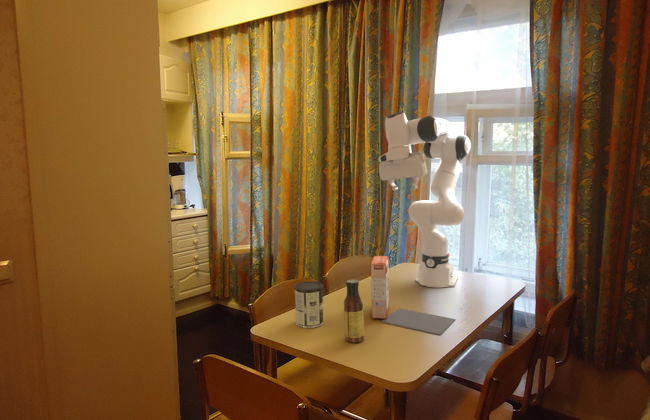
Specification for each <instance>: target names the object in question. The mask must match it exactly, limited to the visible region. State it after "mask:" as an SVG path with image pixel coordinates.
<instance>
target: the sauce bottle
mask: <svg viewBox="0 0 650 420" xmlns="http://www.w3.org/2000/svg"><path fill="white" fill-rule="evenodd" d="M359 282H360V281H359V280H357V279H348V280H346V281H345V285H346V297H345V298H344V301H343V308H344V309H343V318H344V335H345V340H346V341H347V342H349V343H354V344H357V343H361V342H363V341H364V337H365V324H364V305H363V302H362V299H361V296H360V293H359Z"/></svg>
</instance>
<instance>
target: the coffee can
mask: <svg viewBox="0 0 650 420" xmlns="http://www.w3.org/2000/svg"><path fill="white" fill-rule="evenodd" d="M323 290H324V284H323V283H322V282H319V281H318V282H317V281H302V282H299V283H298V282H297V283H296V284H295V285H294V297H295V298H294V299H295V300H294V302H295V303H294V304H295V325H296V326H297V325H298V326H297V327H299V326H300V327H299V328H302V327H303V329H314V328H315V327H316V328H319V327H321V326H323V324H324V323H325V321H324V297H323V296H324V293H323ZM316 328H315V329H316Z"/></svg>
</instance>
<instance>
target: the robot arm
mask: <svg viewBox="0 0 650 420" xmlns="http://www.w3.org/2000/svg"><path fill="white" fill-rule="evenodd" d="M384 124H385V125H384V127H385V137H386V141H387V143H388V144H387V145H388V146H387V152H386V153H384V154H382V155H380V156H378V162H379V164H378V166H379V167H378V170H379V179H380V180H381V181H388V183H389V184H390V186H391V189H392V191H395V192H396V191H398V189H399V188H398V187H399V186H398V185H396V183H395V180H399V179H400V180H401V179H407V178H409V179H410V178H413V180H414V182H413V184H411V189H412V190H416V189H419V182H420V177H425V176H427V174H428V168H427V163H426V161H425V159H426V158H428V159H433V160H434V159H438V160H439V159H440V161H439V163H438V165H437V167H436V170H435V172H434V175H433V179H432V181H431V185H430V191H431V194H432V195H433V196H434V197H436V198H437V200H427V199H426V200H424V199H423V200H417V201H412V203H411V204H410V205H409V207H408V216H409V218H410V220H411V221H412V222H413V223H414V224H415V225H416V227H417V228H418V230H419V231H420V234H421V238H422V253H421V262H420V263H419V265H418V275H417V277H416V278H414V280H415V282H417V283H418V284H419V285H421V286H425V287H428V288H446V287H447V288H448V287H455V286H456V284H457V282H458V276H457V275H454V269H453V266H452V264H450V262H449V261H450V260H449V258H450V253H449V252H448V237H447V235H446V234H444V233H442V232H441V231H440V230H439V229H438V228H437V226H445V227H446V226H448V227H450V226H457V225H461V223H462V222H463V220H464V217H465V209H464V207H463V206H462V204H461V203H459V202H458V200H457V198H456V196H455V195H456V194H455V193H456V187H457V183H458V181H459V180H458V179H459V175H460V162H462V161H463V160H464V159H465V158H466V157H467V156H468V155H469V153H470V151H471V140H470V138H469V136H468V135H465V134H452V133H453V131H452V130H453V128H452V125H451V123H450V122H449V121H448V120H446V119H443V118H439V117H434V116H433V115H427V116H424V117H420V118H416V119H412V120H408V119H407V116H406V114H405V112H403V111H400V112H399V111H398V112H395V113H394V112H393V113H391V114H388V115H387V116H386V117H385V123H384ZM417 144H423V147H422V148H423V149H422V150H423V152H421V151H417V152H412V145H417ZM425 157H426V158H425Z"/></svg>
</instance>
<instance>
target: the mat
mask: <svg viewBox="0 0 650 420" xmlns="http://www.w3.org/2000/svg"><path fill="white" fill-rule="evenodd" d="M455 321H456V318H452V317H447V316H443V315H441V316H440V315H437V314H432V313H427V312H421V311H417V310H411V309H405V308H401V307H400V308H397V309H396V310H395V311H392V313H391V314H390V315H387V319H382V320H381V321H380V323H383V324H386V325H387V324H388V325H391V326H392V325H393V326H395V327H396V326H398V327H401V328H405V329H411V330H414V331H419V332H424V333H428V334H432V335H436V336H442V335H443V334H444V332H445V331H447V330H448V329H449V327H450V326H451V325H452V324H453V323H454V322H455Z"/></svg>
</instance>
